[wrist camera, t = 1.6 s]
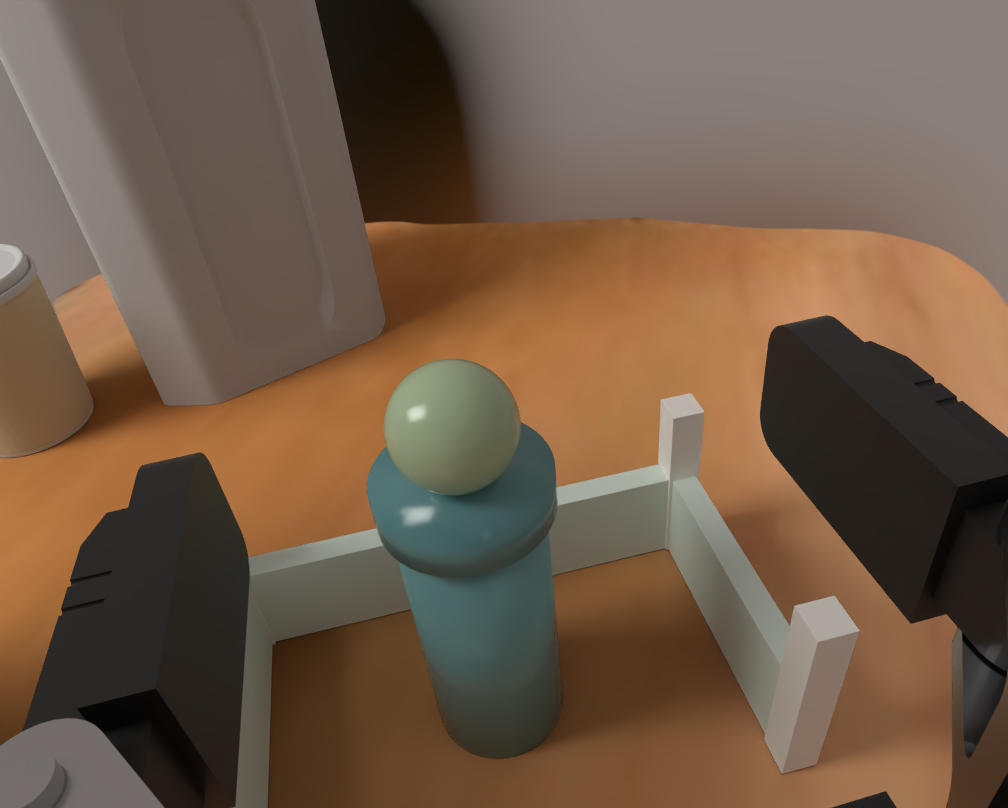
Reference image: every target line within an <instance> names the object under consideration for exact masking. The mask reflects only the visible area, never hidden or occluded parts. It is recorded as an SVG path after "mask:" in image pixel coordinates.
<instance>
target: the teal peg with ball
mask: <svg viewBox="0 0 1008 808" xmlns="http://www.w3.org/2000/svg"><path fill="white" fill-rule="evenodd" d="M384 437H385V443H386V447H385V448H384V449H383V450H382V452H381V453H380V454H379V456H378V457H377V458H376V460H375V462H374V463H373V465H372V467H371V470H370V473H369V475H368V481H367V495H368V500H369V504H370V507H371V511H372V514H373V518H374V521H375V525H376V528H377V532H378V535H379V537H380V540H381V542H382V544H383V545H384V547H385V548H386V550H387V551H388V552H389V553H390V554H391V555H392V556H393V557H394V558H395V559H396V560H398V563H399V567H400V570H401V574H402V578H403V581H404V585H405V589H406V592H407V596H408V599H409V603H410V607H411V610H412V614H413V618H414V621H415V625H416V629H417V632H418V636H419V639H420V643H421V647H422V650H423V654H424V658H425V661H426V665H427V669H428V672H429V676H430V679H431V683H432V687H433V690H434V694H435V698H436V701H437V705H438V709H439V712H440V716H441V720H442V722H443V725H444V727H445V729H446V731H447V732H448V734H449V735H450V737H451V738H452V739H453V740H454V741H455V742H456V743H457V744H458V745H459V746H460V747H462V748H463V749H465V750H466V751H468V752H470V753H472V754H475V755H478V756H481V757H486V758H496V759H499V758H509V757H514V756H517V755H520V754H523V753H525V752H527V751H529V750H531V749H533V748H534V747H536V746H537V745H539V744H540V743H541V742H542V741H543V740H544V739H545V738H546V737H547V736H548V735H549V734H550V733H551V731H552V730H553V728H554V727H555V725H556V723H557V721H558V719H559V716H560V713H561V709H562V701H563V694H562V682H561V671H560V659H559V647H558V635H557V624H556V612H555V600H554V588H553V577H552V565H551V553H550V541H549V531H550V529H551V527H552V525H553V523H554V520H555V517H556V513H557V505H558V499H557V486H556V472H555V461H554V457H553V454H552V451H551V449H550V448H549V446H548V444H547V443H546V441H545V440H544V439H543V438H542V437H541V436H540V435H539V434H538V433H537V432H536V431H535V430H533V429H532V428H530V427H529V426H527V425H525V424H523V423H521V421H520V414H519V409H518V406H517V403H516V401H515V398H514V396H513V394H512V393H511V391H510V389H509V388H508V387H507V385H506V384H505V383H504V382H503V380H502V379H501V378H499V377H498V376H497V375H496V374H495V373H494V372H492V371H491V370H489V369H488V368H486V367H484V366H482V365H480V364H478V363H475V362H471V361H468V360H463V359H443V360H437V361H433V362H430V363H427V364H425V365H423V366H421V367H419V368H417V369H416V370H414V371H413V372H411V373H410V374H409V375H407V376H406V377H405V378H404V379H403V380H402V381H401V383H400V384H399V385H398V386H397V387H396V389H395V391H394V392H393V394H392V396H391V398H390V400H389V403H388V405H387V408H386V412H385V418H384Z"/></svg>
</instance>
